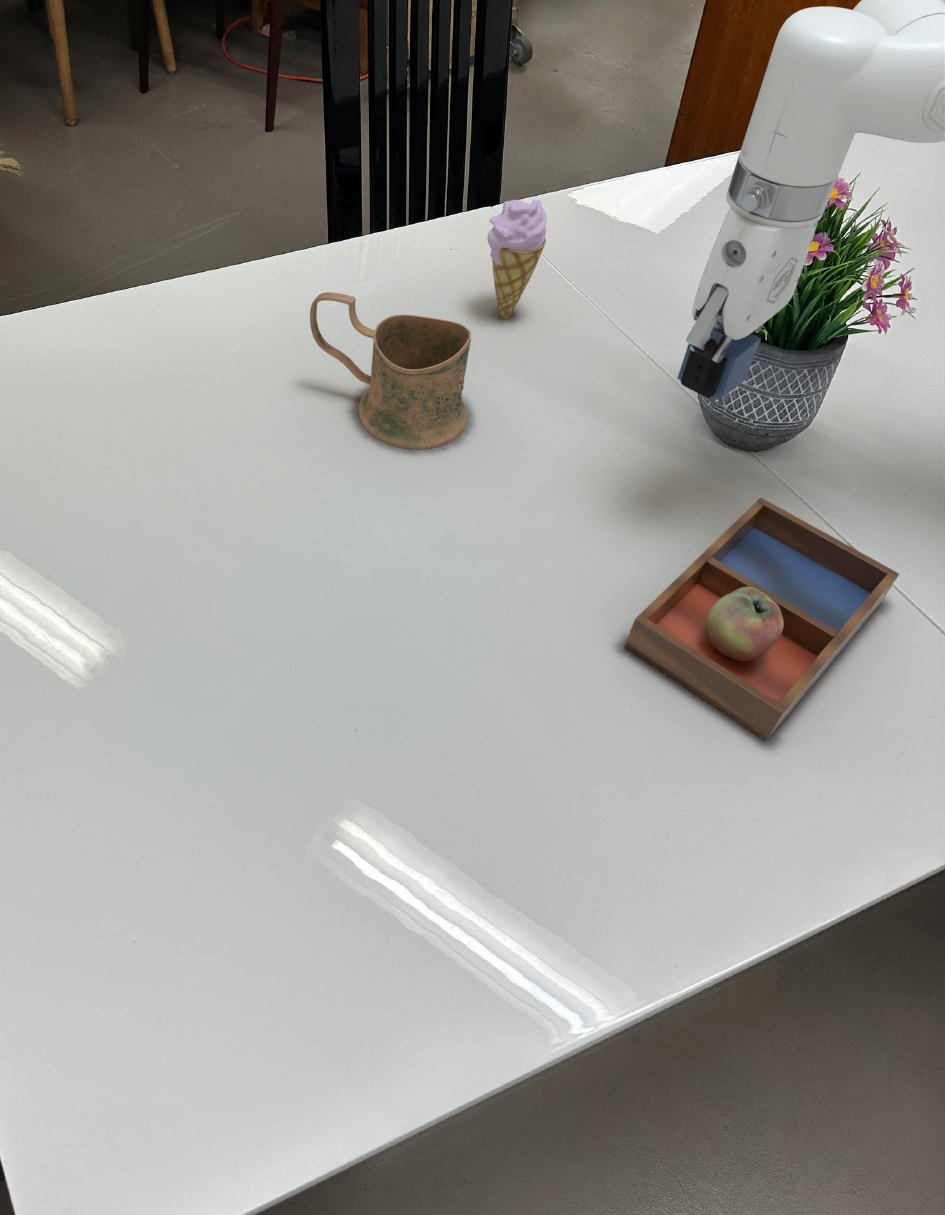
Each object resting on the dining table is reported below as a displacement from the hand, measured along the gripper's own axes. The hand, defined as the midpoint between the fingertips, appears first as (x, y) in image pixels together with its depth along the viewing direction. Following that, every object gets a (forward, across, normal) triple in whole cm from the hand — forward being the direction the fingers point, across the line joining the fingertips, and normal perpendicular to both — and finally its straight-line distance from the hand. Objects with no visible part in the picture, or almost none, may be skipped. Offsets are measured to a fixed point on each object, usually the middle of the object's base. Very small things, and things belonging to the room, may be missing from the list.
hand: (712, 376), depth 98 cm
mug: (+14, -11, +29) cm, 34 cm away
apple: (+14, -15, -15) cm, 25 cm away
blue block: (0, 0, 0) cm, 0 cm away
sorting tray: (+14, -9, -15) cm, 23 cm away
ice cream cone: (+14, +12, +31) cm, 36 cm away
